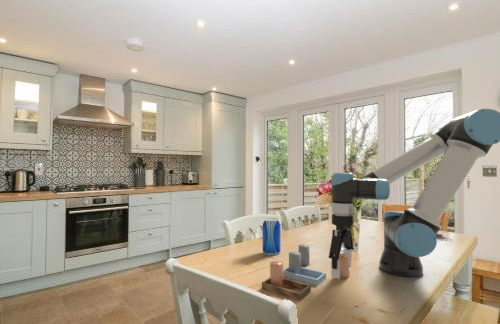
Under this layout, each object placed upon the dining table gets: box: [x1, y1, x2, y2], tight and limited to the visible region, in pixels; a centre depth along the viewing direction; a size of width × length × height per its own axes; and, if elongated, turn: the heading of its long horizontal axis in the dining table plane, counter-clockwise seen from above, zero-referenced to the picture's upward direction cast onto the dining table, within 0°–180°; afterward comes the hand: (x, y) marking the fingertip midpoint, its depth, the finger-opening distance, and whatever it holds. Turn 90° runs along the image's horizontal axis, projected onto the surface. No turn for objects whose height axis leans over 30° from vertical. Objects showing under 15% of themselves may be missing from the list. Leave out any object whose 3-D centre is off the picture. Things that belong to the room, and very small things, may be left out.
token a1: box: [269, 260, 284, 288], centre depth 93 cm, size 4×4×8 cm
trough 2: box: [283, 266, 327, 287], centre depth 101 cm, size 14×8×2 cm, turn 53°
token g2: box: [298, 243, 310, 267], centre depth 115 cm, size 4×4×8 cm
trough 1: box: [261, 277, 312, 302], centre depth 91 cm, size 14×8×2 cm, turn 53°
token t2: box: [339, 253, 350, 279], centre depth 103 cm, size 4×4×8 cm
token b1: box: [288, 251, 302, 275], centre depth 103 cm, size 4×4×8 cm
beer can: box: [262, 217, 282, 257], centre depth 131 cm, size 8×8×16 cm
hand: (341, 271), depth 103 cm, fingers open, 13 cm apart
